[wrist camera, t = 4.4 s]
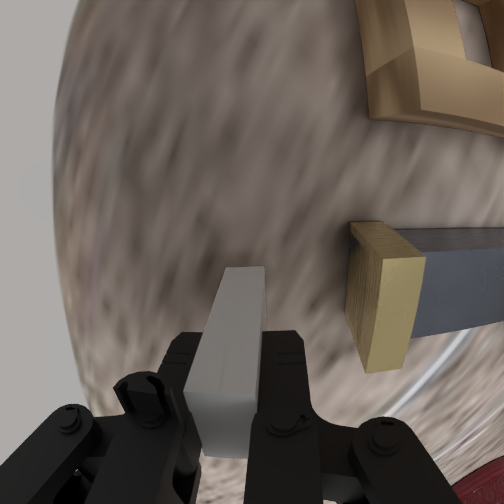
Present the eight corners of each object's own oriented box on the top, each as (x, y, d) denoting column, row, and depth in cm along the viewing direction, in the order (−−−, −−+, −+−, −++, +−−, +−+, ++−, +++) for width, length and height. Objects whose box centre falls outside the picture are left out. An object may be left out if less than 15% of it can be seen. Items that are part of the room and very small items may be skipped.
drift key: (344, 315, 15) (365, 373, 10) (350, 222, 13) (383, 259, 9) (511, 294, 14) (550, 329, 9) (526, 221, 12) (574, 246, 8)
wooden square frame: (341, -54, 8) (362, -110, 3) (493, -9, 7) (539, -30, 2) (369, 119, 11) (421, 109, 7) (520, 142, 11) (582, 153, 6)
